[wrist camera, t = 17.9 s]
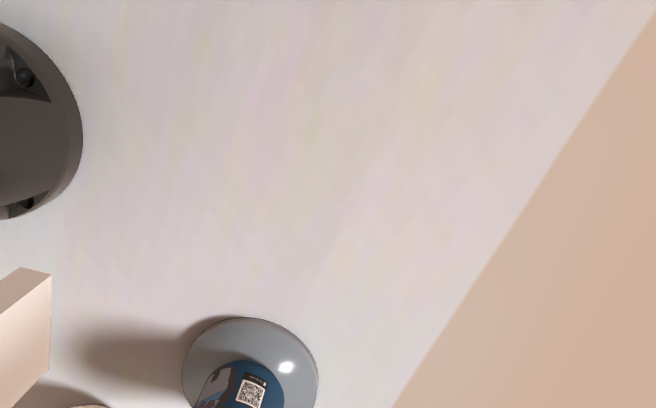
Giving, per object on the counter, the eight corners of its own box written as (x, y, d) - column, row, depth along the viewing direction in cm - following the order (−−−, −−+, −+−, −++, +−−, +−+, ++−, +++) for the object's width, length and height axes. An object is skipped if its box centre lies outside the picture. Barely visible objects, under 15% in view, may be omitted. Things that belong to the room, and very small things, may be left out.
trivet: (180, 410, 47) (174, 421, 46) (195, 303, 43) (189, 313, 42) (303, 440, 47) (301, 452, 46) (331, 336, 43) (330, 347, 42)
